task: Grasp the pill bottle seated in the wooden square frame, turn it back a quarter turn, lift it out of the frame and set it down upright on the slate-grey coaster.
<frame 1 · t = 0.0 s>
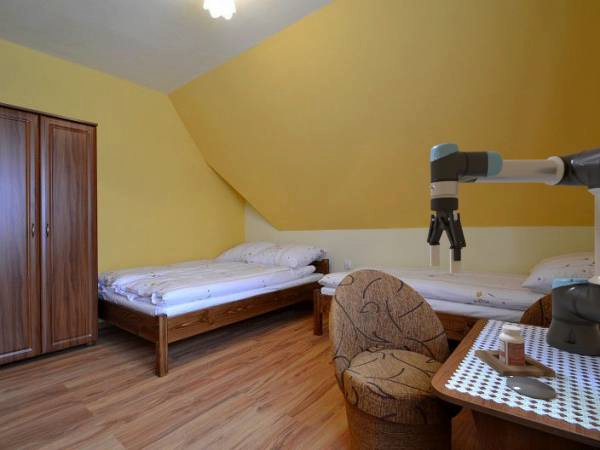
hand: (444, 269, 92), 28 cm above the table, fingers open, 13 cm apart
wooden square frame: (511, 365, 91), on the table
slate coaster: (530, 388, 78), on the table
pill bottle: (511, 365, 91), resting in wooden square frame
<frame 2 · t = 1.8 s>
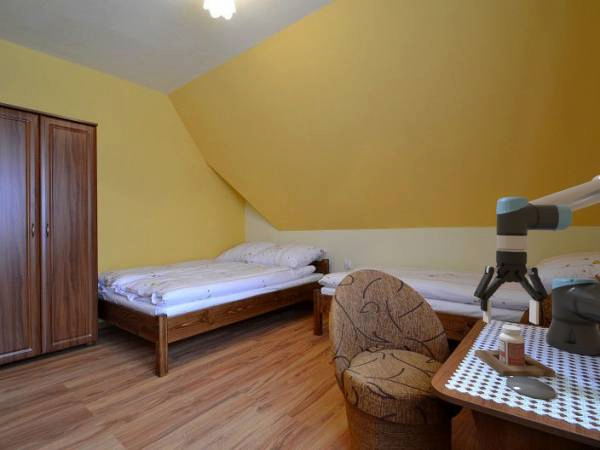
hand: (510, 322, 91), 12 cm above the table, fingers open, 13 cm apart
nothing on the table moved.
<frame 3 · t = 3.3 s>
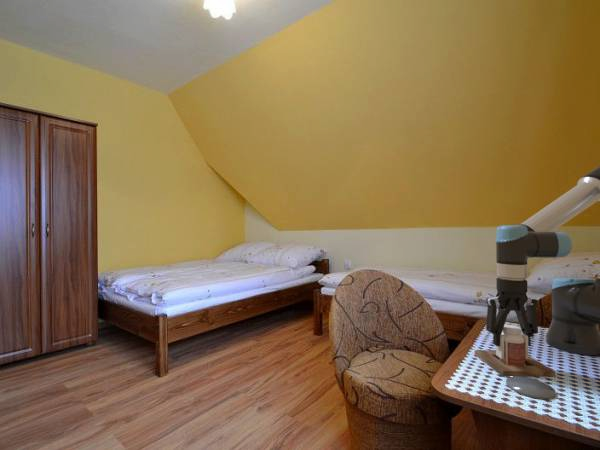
hand: (511, 356, 91), 2 cm above the table, fingers closed on pill bottle, 6 cm apart
pill bottle: (511, 365, 91), resting in wooden square frame, touching gripper
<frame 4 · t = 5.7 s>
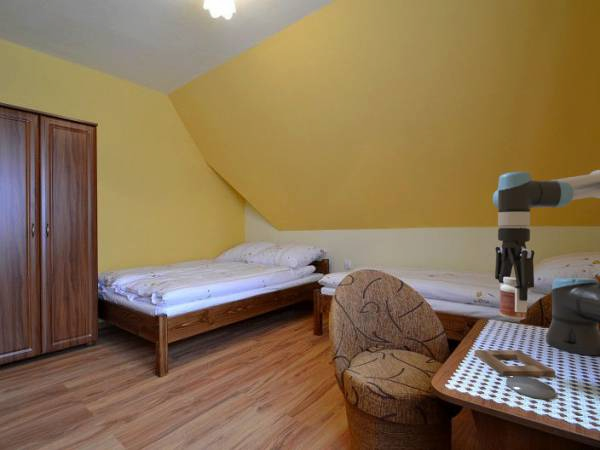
hand: (512, 308, 89), 17 cm above the table, fingers closed on pill bottle, 6 cm apart
pill bottle: (512, 317, 89), point 15 cm above the table, touching gripper
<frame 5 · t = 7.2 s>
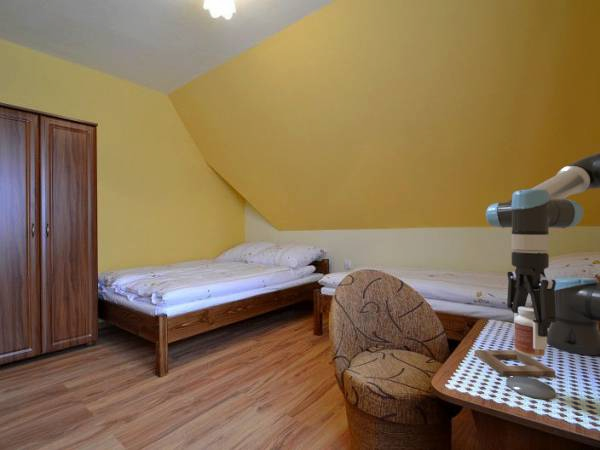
hand: (529, 343, 78), 11 cm above the table, fingers closed on pill bottle, 6 cm apart
pill bottle: (529, 353, 78), point 9 cm above the table, touching gripper
when the fingers open (4 cm above the table, at t = 8.5 s): pill bottle drops 1 cm, resting on slate coaster.
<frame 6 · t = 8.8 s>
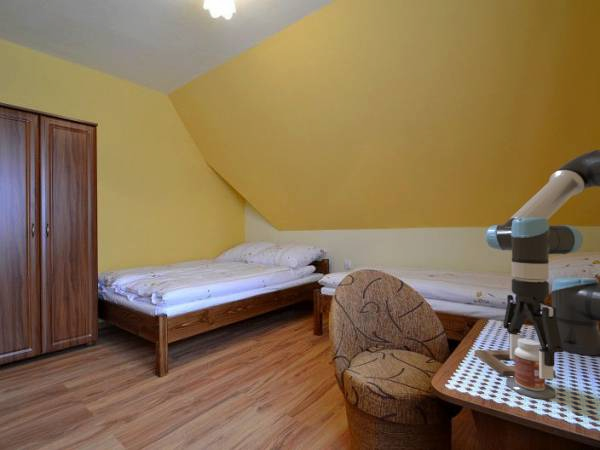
hand: (529, 367, 78), 5 cm above the table, fingers open, 10 cm apart
pill bottle: (529, 386, 78), resting on slate coaster
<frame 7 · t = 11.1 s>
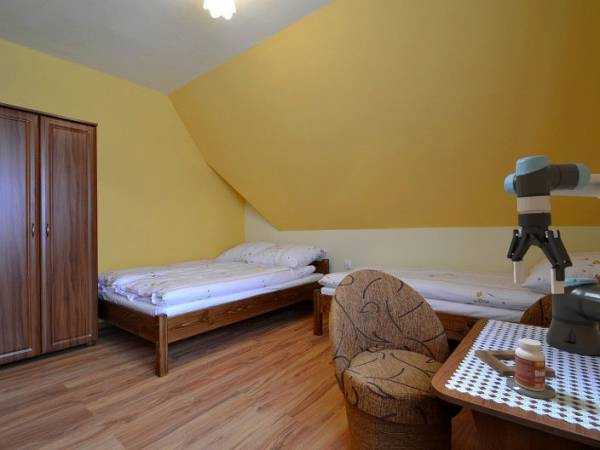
hand: (537, 287, 88), 23 cm above the table, fingers open, 13 cm apart
nothing on the table moved.
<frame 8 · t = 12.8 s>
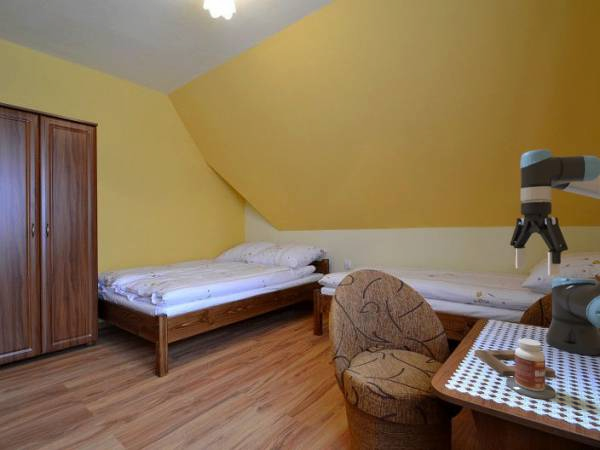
hand: (536, 271, 95), 27 cm above the table, fingers open, 13 cm apart
nothing on the table moved.
at the end: pill bottle 0.1 cm from the slate coaster (horizontally); pill bottle tilted 0°; pill bottle resting on slate coaster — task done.
